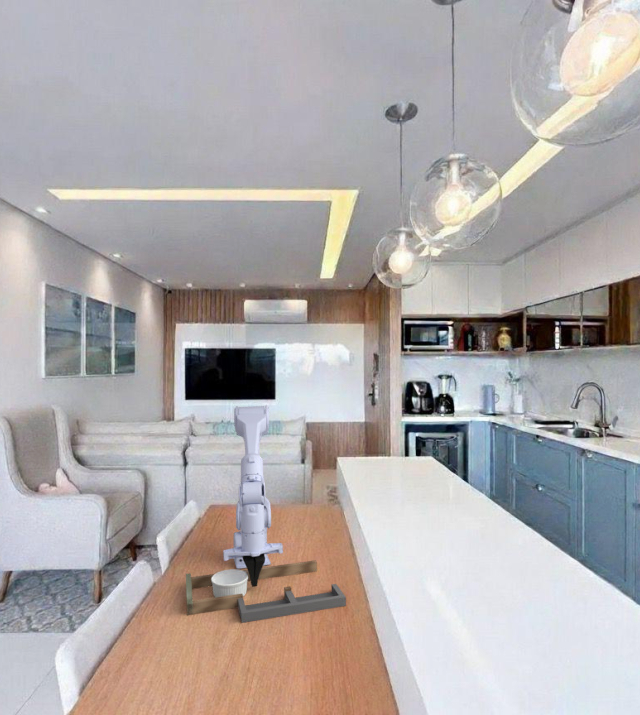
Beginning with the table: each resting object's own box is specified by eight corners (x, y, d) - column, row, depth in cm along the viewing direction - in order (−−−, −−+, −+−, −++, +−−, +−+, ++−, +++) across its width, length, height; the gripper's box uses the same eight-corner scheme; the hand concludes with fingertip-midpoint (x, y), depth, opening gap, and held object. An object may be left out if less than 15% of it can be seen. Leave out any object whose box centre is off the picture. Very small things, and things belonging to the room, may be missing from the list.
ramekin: (255, 593, 122) (255, 575, 122) (227, 606, 115) (226, 588, 115) (232, 583, 127) (232, 566, 127) (204, 595, 121) (203, 577, 121)
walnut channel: (187, 615, 111) (186, 599, 112) (186, 587, 125) (185, 573, 125) (331, 592, 121) (331, 578, 121) (315, 569, 135) (315, 556, 135)
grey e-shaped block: (241, 622, 108) (241, 613, 108) (237, 607, 115) (237, 598, 115) (345, 605, 114) (345, 596, 114) (336, 591, 121) (336, 583, 121)
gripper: (224, 538, 117) (225, 596, 117) (285, 531, 121) (286, 587, 121) (222, 529, 124) (223, 584, 124) (279, 522, 128) (280, 575, 128)
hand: (254, 585), depth 123 cm, fingers closed
